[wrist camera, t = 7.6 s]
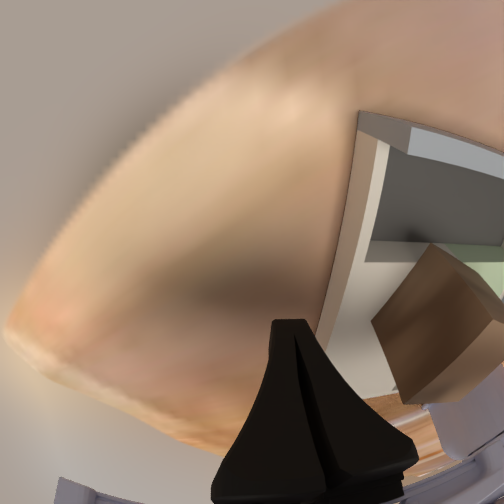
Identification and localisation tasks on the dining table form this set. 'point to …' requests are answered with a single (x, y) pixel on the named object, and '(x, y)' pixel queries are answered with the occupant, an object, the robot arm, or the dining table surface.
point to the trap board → (406, 232)
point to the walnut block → (441, 330)
